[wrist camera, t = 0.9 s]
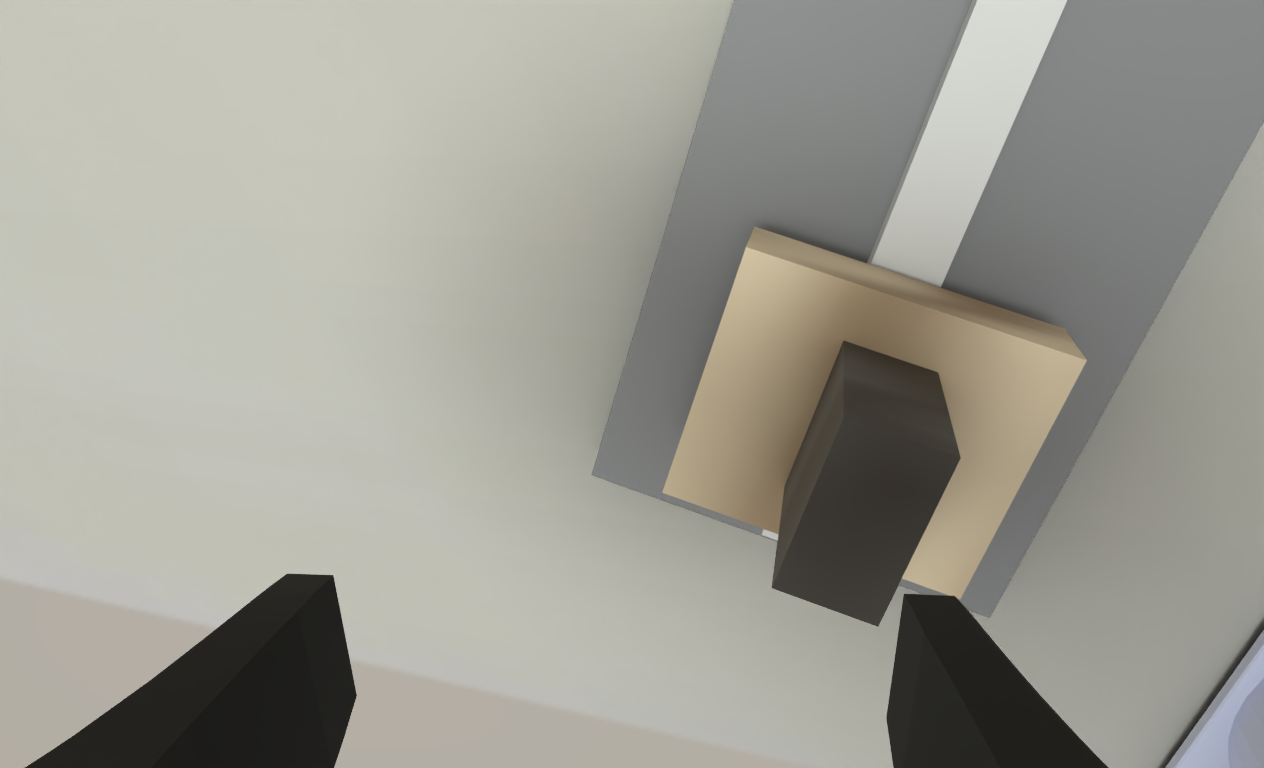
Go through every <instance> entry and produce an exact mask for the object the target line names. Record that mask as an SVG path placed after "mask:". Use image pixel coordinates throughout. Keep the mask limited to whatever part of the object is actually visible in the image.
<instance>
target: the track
mask: <svg viewBox="0 0 1264 768" xmlns="http://www.w3.org/2000/svg"><path fill="white" fill-rule="evenodd" d="M1263 122H1264V0H734V3H733V6H732V9H731V13H730V16H729V19H728V23H727V26H726V29H725V33H724V36H723V39H722V43H721V46H720V49H719V52H718V56H717V59H716V62H715V66H714V69H713V72H712V76H711V79H710V82H709V86H708V89H707V92H706V96H705V99H704V102H703V106H702V109H701V112H700V116H699V119H698V122H697V126H696V129H695V132H694V136H693V139H692V142H691V146H690V149H689V152H688V156H687V159H686V162H685V165H684V169H683V172H682V175H681V179H680V182H679V185H678V189H677V192H676V195H675V199H674V202H673V205H672V209H671V212H670V215H669V219H668V222H667V225H666V229H665V232H664V235H663V239H662V242H661V245H660V249H659V252H658V255H657V259H656V262H655V265H654V269H653V272H652V275H651V278H650V282H649V285H648V288H647V292H646V295H645V298H644V302H643V305H642V308H641V312H640V315H639V318H638V322H637V325H636V328H635V332H634V335H633V338H632V342H631V345H630V348H629V352H628V355H627V358H626V362H625V365H624V368H623V372H622V375H621V378H620V382H619V385H618V388H617V391H616V395H615V398H614V401H613V405H612V408H611V411H610V415H609V418H608V421H607V425H606V428H605V431H604V435H603V438H602V441H601V445H600V448H599V451H598V455H597V458H596V461H595V465H594V468H593V471H592V475H593V476H596V477H599V478H601V479H604V480H607V481H610V482H613V483H615V484H618V485H621V486H624V487H626V488H629V489H632V490H635V491H638V492H640V493H643V494H646V495H649V496H652V497H654V498H657V499H660V500H663V501H665V502H668V503H671V504H674V505H677V506H679V507H682V508H685V509H688V510H691V511H693V512H696V513H699V514H702V515H704V516H707V517H710V518H713V519H716V520H718V521H721V522H724V523H727V524H729V525H732V526H735V527H738V528H741V529H743V530H746V531H749V532H752V533H755V534H757V535H760V536H763V537H766V538H768V539H771V540H774V541H777V542H778V534H776V533H773V532H771V531H768V530H765V529H762V528H759V527H757V526H754V525H751V524H748V523H745V522H743V521H740V520H737V519H734V518H731V517H729V516H726V515H723V514H720V513H717V512H715V511H712V510H709V509H706V508H704V507H701V506H698V505H695V504H692V503H690V502H687V501H684V500H681V499H678V498H676V497H673V496H670V495H667V494H664V493H662V492H663V489H664V486H665V483H666V480H667V477H668V474H669V471H670V468H671V465H672V462H673V459H674V456H675V454H676V451H677V448H678V445H679V442H680V439H681V436H682V433H683V430H684V427H685V424H686V421H687V418H688V415H689V413H690V410H691V407H692V404H693V401H694V398H695V395H696V392H697V389H698V386H699V383H700V380H701V377H702V374H703V372H704V369H705V366H706V363H707V360H708V357H709V354H710V351H711V348H712V345H713V342H714V339H715V336H716V333H717V330H718V328H719V325H720V322H721V319H722V316H723V313H724V310H725V307H726V304H727V301H728V298H729V295H730V292H731V289H732V287H733V284H734V281H735V278H736V275H737V272H738V269H739V266H740V263H741V260H742V257H743V254H744V251H745V248H746V246H747V243H748V241H749V239H750V236H751V234H752V231H753V229H754V227H758V228H761V229H764V230H767V231H770V232H773V233H776V234H779V235H782V236H785V237H788V238H791V239H794V240H797V241H800V242H803V243H806V244H809V245H812V246H815V247H818V248H821V249H825V250H828V251H831V252H834V253H837V254H840V255H843V256H846V257H849V258H852V259H855V260H858V261H861V262H864V263H867V264H870V265H873V266H876V267H879V268H882V269H885V270H888V271H891V272H894V273H897V274H900V275H903V276H906V277H909V278H912V279H915V280H918V281H921V282H924V283H927V284H931V285H934V286H937V287H940V288H943V289H946V290H949V291H952V292H955V293H958V294H961V295H964V296H967V297H970V298H973V299H976V300H979V301H982V302H985V303H988V304H991V305H994V306H997V307H1000V308H1003V309H1006V310H1009V311H1012V312H1015V313H1018V314H1021V315H1024V316H1027V317H1030V318H1034V319H1037V320H1040V321H1043V322H1046V323H1049V324H1052V325H1055V326H1058V327H1061V328H1064V329H1065V330H1066V331H1067V333H1068V334H1069V335H1070V337H1071V338H1072V340H1073V341H1074V343H1075V344H1076V345H1077V347H1078V348H1079V350H1080V351H1081V353H1082V354H1083V355H1084V357H1085V358H1086V360H1087V361H1086V363H1085V365H1084V367H1083V369H1082V371H1081V373H1080V374H1079V376H1078V378H1077V380H1076V382H1075V384H1074V386H1073V388H1072V390H1071V391H1070V393H1069V395H1068V397H1067V399H1066V401H1065V403H1064V405H1063V407H1062V408H1061V410H1060V412H1059V414H1058V416H1057V418H1056V420H1055V422H1054V424H1053V425H1052V427H1051V429H1050V431H1049V433H1048V435H1047V437H1046V439H1045V441H1044V442H1043V444H1042V446H1041V448H1040V450H1039V452H1038V454H1037V456H1036V458H1035V459H1034V461H1033V463H1032V465H1031V467H1030V469H1029V471H1028V473H1027V474H1026V476H1025V478H1024V480H1023V482H1022V484H1021V486H1020V488H1019V490H1018V491H1017V493H1016V495H1015V497H1014V499H1013V501H1012V503H1011V505H1010V507H1009V508H1008V510H1007V512H1006V514H1005V516H1004V518H1003V520H1002V522H1001V524H1000V525H999V527H998V529H997V531H996V533H995V535H994V537H993V539H992V541H991V542H990V544H989V546H988V548H987V550H986V552H985V554H984V556H983V558H982V559H981V561H980V563H979V565H978V567H977V569H976V571H975V573H974V574H973V576H972V578H971V580H970V582H969V584H968V586H967V588H966V590H965V591H964V593H963V595H962V597H961V599H958V598H957V599H958V600H959V601H960V602H961V603H962V604H963V605H964V606H965V607H966V609H967V610H969V611H972V612H975V613H977V614H980V615H983V616H986V617H989V618H990V617H991V615H992V613H993V611H994V609H995V607H996V606H997V604H998V602H999V600H1000V598H1001V597H1002V595H1003V593H1004V591H1005V589H1006V588H1007V586H1008V584H1009V582H1010V580H1011V579H1012V577H1013V575H1014V573H1015V571H1016V569H1017V568H1018V566H1019V564H1020V562H1021V560H1022V559H1023V557H1024V555H1025V553H1026V551H1027V550H1028V548H1029V546H1030V544H1031V542H1032V540H1033V539H1034V537H1035V535H1036V533H1037V531H1038V530H1039V528H1040V526H1041V524H1042V522H1043V521H1044V519H1045V517H1046V515H1047V513H1048V512H1049V510H1050V508H1051V506H1052V504H1053V502H1054V501H1055V499H1056V497H1057V495H1058V493H1059V492H1060V490H1061V488H1062V486H1063V484H1064V483H1065V481H1066V479H1067V477H1068V475H1069V473H1070V472H1071V470H1072V468H1073V466H1074V464H1075V463H1076V461H1077V459H1078V457H1079V455H1080V454H1081V452H1082V450H1083V448H1084V446H1085V445H1086V443H1087V441H1088V439H1089V437H1090V435H1091V434H1092V432H1093V430H1094V428H1095V426H1096V425H1097V423H1098V421H1099V419H1100V417H1101V416H1102V414H1103V412H1104V410H1105V408H1106V407H1107V405H1108V403H1109V401H1110V399H1111V397H1112V396H1113V394H1114V392H1115V390H1116V388H1117V387H1118V385H1119V383H1120V381H1121V379H1122V378H1123V376H1124V374H1125V372H1126V370H1127V368H1128V367H1129V365H1130V363H1131V361H1132V359H1133V358H1134V356H1135V354H1136V352H1137V350H1138V349H1139V347H1140V345H1141V343H1142V341H1143V340H1144V338H1145V336H1146V334H1147V332H1148V330H1149V329H1150V327H1151V325H1152V323H1153V321H1154V320H1155V318H1156V316H1157V314H1158V312H1159V311H1160V309H1161V307H1162V305H1163V303H1164V302H1165V300H1166V298H1167V296H1168V294H1169V292H1170V291H1171V289H1172V287H1173V285H1174V283H1175V282H1176V280H1177V278H1178V276H1179V274H1180V273H1181V271H1182V269H1183V267H1184V265H1185V263H1186V262H1187V260H1188V258H1189V256H1190V254H1191V253H1192V251H1193V249H1194V247H1195V245H1196V244H1197V242H1198V240H1199V238H1200V236H1201V235H1202V233H1203V231H1204V229H1205V227H1206V225H1207V224H1208V222H1209V220H1210V218H1211V216H1212V215H1213V213H1214V211H1215V209H1216V207H1217V206H1218V204H1219V202H1220V200H1221V198H1222V196H1223V195H1224V193H1225V191H1226V189H1227V187H1228V186H1229V184H1230V182H1231V180H1232V178H1233V177H1234V175H1235V173H1236V171H1237V169H1238V168H1239V166H1240V164H1241V162H1242V160H1243V158H1244V157H1245V155H1246V153H1247V151H1248V149H1249V148H1250V146H1251V144H1252V142H1253V140H1254V139H1255V137H1256V135H1257V133H1258V131H1259V130H1260V128H1261V126H1262V124H1263ZM899 586H902V587H905V588H908V589H911V590H913V591H916V592H919V593H922V594H924V595H946V594H944V593H941V592H938V591H935V590H932V589H930V588H927V587H924V586H921V585H918V584H916V583H913V582H910V581H907V580H905V579H901V581H900V583H899ZM948 596H949V595H948Z"/></svg>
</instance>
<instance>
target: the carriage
mask: <svg viewBox="0 0 1264 768" xmlns="http://www.w3.org/2000/svg"><path fill="white" fill-rule="evenodd" d="M1086 361H1087V360H1086V358H1085V357H1084V355H1083V354H1082V353H1081V351H1080V350H1079V348H1078V347H1077V345H1076V344H1075V343H1074V341H1073V340H1072V338H1071V337H1070V335H1069V334H1068V333H1067V331H1066V330H1065V329H1064V328H1061V327H1058V326H1055V325H1052V324H1049V323H1046V322H1043V321H1040V320H1037V319H1034V318H1030V317H1027V316H1024V315H1021V314H1018V313H1015V312H1012V311H1009V310H1006V309H1003V308H1000V307H997V306H994V305H991V304H988V303H985V302H982V301H979V300H976V299H973V298H970V297H967V296H964V295H961V294H958V293H955V292H952V291H949V290H946V289H943V288H940V287H937V286H934V285H931V284H927V283H924V282H921V281H918V280H915V279H912V278H909V277H906V276H903V275H900V274H897V273H894V272H891V271H888V270H885V269H882V268H879V267H876V266H873V265H870V264H867V263H864V262H861V261H858V260H855V259H852V258H849V257H846V256H843V255H840V254H837V253H834V252H831V251H828V250H825V249H821V248H818V247H815V246H812V245H809V244H806V243H803V242H800V241H797V240H794V239H791V238H788V237H785V236H782V235H779V234H776V233H773V232H770V231H767V230H764V229H761V228H758V227H754V229H753V231H752V234H751V236H750V239H749V241H748V243H747V246H746V248H745V251H744V254H743V257H742V260H741V263H740V266H739V269H738V272H737V275H736V278H735V281H734V284H733V287H732V289H731V292H730V295H729V298H728V301H727V304H726V307H725V310H724V313H723V316H722V319H721V322H720V325H719V328H718V330H717V333H716V336H715V339H714V342H713V345H712V348H711V351H710V354H709V357H708V360H707V363H706V366H705V369H704V372H703V374H702V377H701V380H700V383H699V386H698V389H697V392H696V395H695V398H694V401H693V404H692V407H691V410H690V413H689V415H688V418H687V421H686V424H685V427H684V430H683V433H682V436H681V439H680V442H679V445H678V448H677V451H676V454H675V456H674V459H673V462H672V465H671V468H670V471H669V474H668V477H667V480H666V483H665V486H664V489H663V492H662V493H664V494H667V495H670V496H673V497H676V498H678V499H681V500H684V501H687V502H690V503H692V504H695V505H698V506H701V507H704V508H706V509H709V510H712V511H715V512H717V513H720V514H723V515H726V516H729V517H731V518H734V519H737V520H740V521H743V522H745V523H748V524H751V525H754V526H757V527H759V528H762V529H765V530H768V531H771V532H773V533H776V534H778V542H777V550H776V558H775V566H774V574H773V582H772V588H773V589H776V590H779V591H782V592H784V593H787V594H790V595H793V596H795V597H798V598H801V599H804V600H806V601H809V602H812V603H815V604H817V605H820V606H823V607H826V608H828V609H831V610H834V611H837V612H839V613H842V614H845V615H848V616H850V617H853V618H856V619H859V620H861V621H864V622H867V623H870V624H872V625H875V626H879V624H880V622H881V620H882V618H883V616H884V613H885V611H886V609H887V607H888V605H889V603H890V601H891V599H892V597H893V595H894V593H895V591H896V589H897V587H898V585H899V583H900V581H901V579H905V580H907V581H910V582H913V583H916V584H918V585H921V586H924V587H927V588H930V589H932V590H935V591H938V592H941V593H944V594H946V595H949V596H956V597H957V598H958V599H961V597H962V595H963V593H964V591H965V590H966V588H967V586H968V584H969V582H970V580H971V578H972V576H973V574H974V573H975V571H976V569H977V567H978V565H979V563H980V561H981V559H982V558H983V556H984V554H985V552H986V550H987V548H988V546H989V544H990V542H991V541H992V539H993V537H994V535H995V533H996V531H997V529H998V527H999V525H1000V524H1001V522H1002V520H1003V518H1004V516H1005V514H1006V512H1007V510H1008V508H1009V507H1010V505H1011V503H1012V501H1013V499H1014V497H1015V495H1016V493H1017V491H1018V490H1019V488H1020V486H1021V484H1022V482H1023V480H1024V478H1025V476H1026V474H1027V473H1028V471H1029V469H1030V467H1031V465H1032V463H1033V461H1034V459H1035V458H1036V456H1037V454H1038V452H1039V450H1040V448H1041V446H1042V444H1043V442H1044V441H1045V439H1046V437H1047V435H1048V433H1049V431H1050V429H1051V427H1052V425H1053V424H1054V422H1055V420H1056V418H1057V416H1058V414H1059V412H1060V410H1061V408H1062V407H1063V405H1064V403H1065V401H1066V399H1067V397H1068V395H1069V393H1070V391H1071V390H1072V388H1073V386H1074V384H1075V382H1076V380H1077V378H1078V376H1079V374H1080V373H1081V371H1082V369H1083V367H1084V365H1085V363H1086Z"/></svg>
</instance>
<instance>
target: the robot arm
mask: <svg viewBox="0 0 1264 768" xmlns="http://www.w3.org/2000/svg"><path fill="white" fill-rule="evenodd" d="M356 696H357V695H356V691H355V685H354V680H353V675H352V669H351V664H350V659H349V654H348V649H347V644H346V639H345V634H344V628H343V623H342V618H341V613H340V608H339V603H338V598H337V592H336V587H335V582H334V577H333V575H308V574H286V575H285V576H284V577H282V578H281V579H280V580H278V581H277V582H275V583H274V584H273V585H271V586H270V587H269V588H268V589H266V590H265V591H264V592H262V593H261V594H260V595H259V596H257V597H256V598H255V599H253V600H252V601H251V602H250V603H248V604H247V605H246V606H245V607H243V608H242V609H241V610H240V611H238V612H237V613H236V614H235V615H233V616H232V617H231V618H230V619H228V620H227V621H226V622H225V623H223V624H222V625H221V626H220V627H218V628H217V629H216V630H214V631H213V632H212V633H211V634H210V635H208V636H207V637H206V638H204V639H203V640H202V641H201V642H199V643H198V644H197V645H195V646H194V647H193V648H192V649H190V650H189V651H188V652H186V653H185V654H184V655H183V656H181V657H180V658H179V659H178V660H176V661H175V662H174V663H172V664H171V665H170V666H168V667H167V668H166V669H165V670H163V671H162V672H161V673H159V674H158V675H157V676H156V677H154V678H153V679H152V680H150V681H149V682H148V683H146V684H145V685H143V686H142V687H141V688H139V689H138V690H136V691H135V692H134V693H132V694H131V695H130V696H128V697H127V698H125V699H124V700H123V701H121V702H120V703H119V704H117V705H116V706H114V707H113V708H111V709H110V710H109V711H108V712H106V713H104V714H103V715H102V716H100V717H99V718H98V719H96V720H95V721H93V722H92V723H91V724H89V725H88V726H86V727H85V728H84V729H82V730H81V731H80V732H78V733H77V734H76V735H74V736H72V737H71V738H69V739H68V740H67V741H65V742H64V743H62V744H60V745H59V746H58V747H56V748H55V749H53V750H52V751H50V752H49V753H47V754H45V755H44V756H42V757H41V758H39V759H38V760H36V761H35V762H33V763H32V764H30V765H28V766H27V767H25V768H334V766H335V763H336V760H337V757H338V754H339V751H340V748H341V745H342V742H343V739H344V736H345V732H346V729H347V726H348V722H349V719H350V715H351V712H352V709H353V706H354V702H355V699H356ZM887 725H888V732H889V739H890V746H891V753H892V760H893V766H894V768H1108V767H1107V766H1106V765H1105V764H1104V763H1103V762H1102V761H1101V760H1100V759H1099V758H1098V757H1097V756H1096V755H1095V754H1094V753H1093V752H1092V751H1091V750H1090V748H1089V747H1088V746H1087V745H1086V744H1085V743H1084V742H1083V741H1082V740H1081V739H1080V738H1079V737H1078V736H1077V735H1076V734H1075V733H1074V732H1073V731H1072V729H1071V728H1070V727H1069V726H1068V725H1067V724H1066V723H1065V722H1064V721H1063V720H1062V719H1061V717H1060V716H1059V715H1058V714H1057V713H1056V712H1055V711H1054V710H1053V709H1052V708H1051V707H1050V706H1049V704H1048V703H1047V702H1046V701H1045V700H1044V699H1043V698H1042V697H1041V696H1040V695H1039V693H1038V692H1037V691H1036V690H1035V689H1034V688H1033V687H1032V686H1031V684H1030V683H1029V682H1028V681H1027V680H1026V679H1025V678H1024V676H1023V675H1022V674H1021V673H1020V672H1019V671H1018V669H1017V668H1016V667H1015V666H1014V665H1013V664H1012V662H1011V661H1010V660H1009V659H1008V658H1007V657H1006V655H1005V654H1004V653H1003V652H1002V651H1001V649H1000V648H999V647H998V646H997V645H996V644H995V642H994V641H993V640H992V639H991V638H990V636H989V635H988V634H987V633H986V631H985V630H984V629H983V628H982V627H981V625H980V624H979V623H978V622H977V621H976V619H975V618H974V617H973V616H972V615H971V613H970V612H969V611H968V610H967V609H966V607H965V606H964V605H963V604H962V603H961V602H960V601H959V600H958V599H957V597H956V596H948V595H918V594H904V598H903V605H902V612H901V619H900V626H899V633H898V640H897V647H896V654H895V662H894V669H893V676H892V683H891V690H890V697H889V704H888V711H887ZM1165 768H1264V630H1263V631H1262V633H1261V634H1260V636H1259V637H1258V638H1257V640H1256V641H1255V643H1254V644H1253V645H1252V647H1251V648H1250V650H1249V651H1248V652H1247V654H1246V655H1245V657H1244V658H1243V659H1242V661H1241V662H1240V664H1239V665H1238V667H1237V668H1236V669H1235V671H1234V672H1233V674H1232V675H1231V676H1230V678H1229V679H1228V681H1227V682H1226V683H1225V685H1224V686H1223V688H1222V689H1221V690H1220V692H1219V693H1218V695H1217V696H1216V697H1215V699H1214V700H1213V702H1212V703H1211V704H1210V706H1209V707H1208V709H1207V710H1206V711H1205V713H1204V714H1203V716H1202V717H1201V718H1200V720H1199V721H1198V723H1197V724H1196V725H1195V727H1194V728H1193V730H1192V731H1191V732H1190V734H1189V735H1188V737H1187V738H1186V739H1185V741H1184V742H1183V744H1182V745H1181V746H1180V748H1179V749H1178V751H1177V752H1176V753H1175V755H1174V756H1173V758H1172V759H1171V760H1170V762H1169V763H1168V765H1167V766H1166V767H1165Z"/></svg>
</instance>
